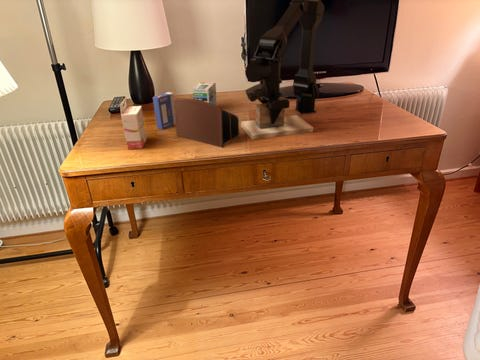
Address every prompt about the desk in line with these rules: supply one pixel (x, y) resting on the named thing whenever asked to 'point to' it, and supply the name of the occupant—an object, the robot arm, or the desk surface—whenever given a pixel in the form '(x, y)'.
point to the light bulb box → (205, 92)
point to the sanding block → (267, 117)
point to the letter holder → (205, 122)
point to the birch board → (277, 128)
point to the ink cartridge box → (133, 125)
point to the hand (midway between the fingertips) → (270, 121)
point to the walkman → (164, 110)
